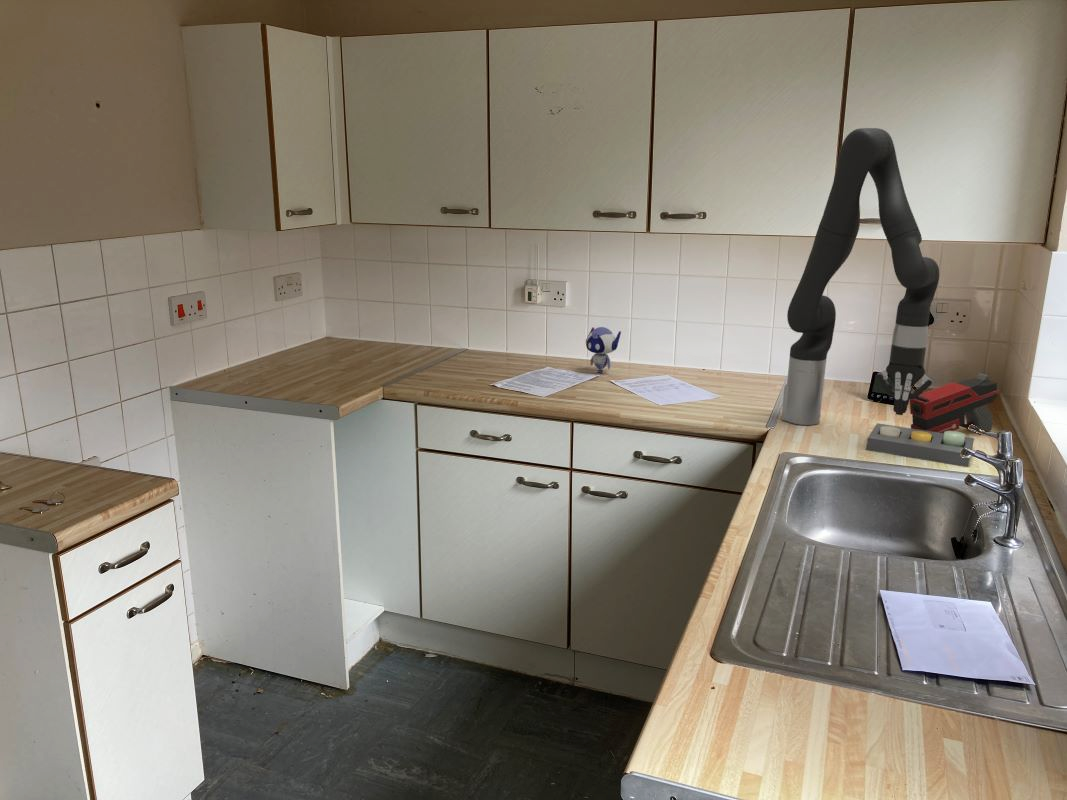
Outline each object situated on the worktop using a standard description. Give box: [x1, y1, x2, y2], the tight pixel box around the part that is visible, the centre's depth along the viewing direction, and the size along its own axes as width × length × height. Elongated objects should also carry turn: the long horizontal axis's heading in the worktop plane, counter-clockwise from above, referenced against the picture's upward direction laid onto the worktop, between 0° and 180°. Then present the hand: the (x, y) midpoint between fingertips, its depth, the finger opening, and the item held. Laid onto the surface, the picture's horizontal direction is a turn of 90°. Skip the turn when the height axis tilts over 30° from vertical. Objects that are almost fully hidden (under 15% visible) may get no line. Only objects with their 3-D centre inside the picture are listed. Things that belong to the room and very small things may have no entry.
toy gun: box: [909, 372, 1000, 433], centre depth 215 cm, size 5×24×15 cm, turn 110°
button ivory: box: [880, 426, 900, 437], centre depth 207 cm, size 4×4×4 cm
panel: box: [865, 423, 975, 467], centre depth 203 cm, size 22×14×3 cm, turn 60°
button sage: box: [943, 430, 966, 447], centre depth 199 cm, size 4×4×4 cm
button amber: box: [911, 431, 932, 442], centre depth 203 cm, size 4×4×4 cm
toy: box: [585, 326, 622, 374], centre depth 271 cm, size 11×10×15 cm
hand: (899, 414), depth 204 cm, fingers closed
